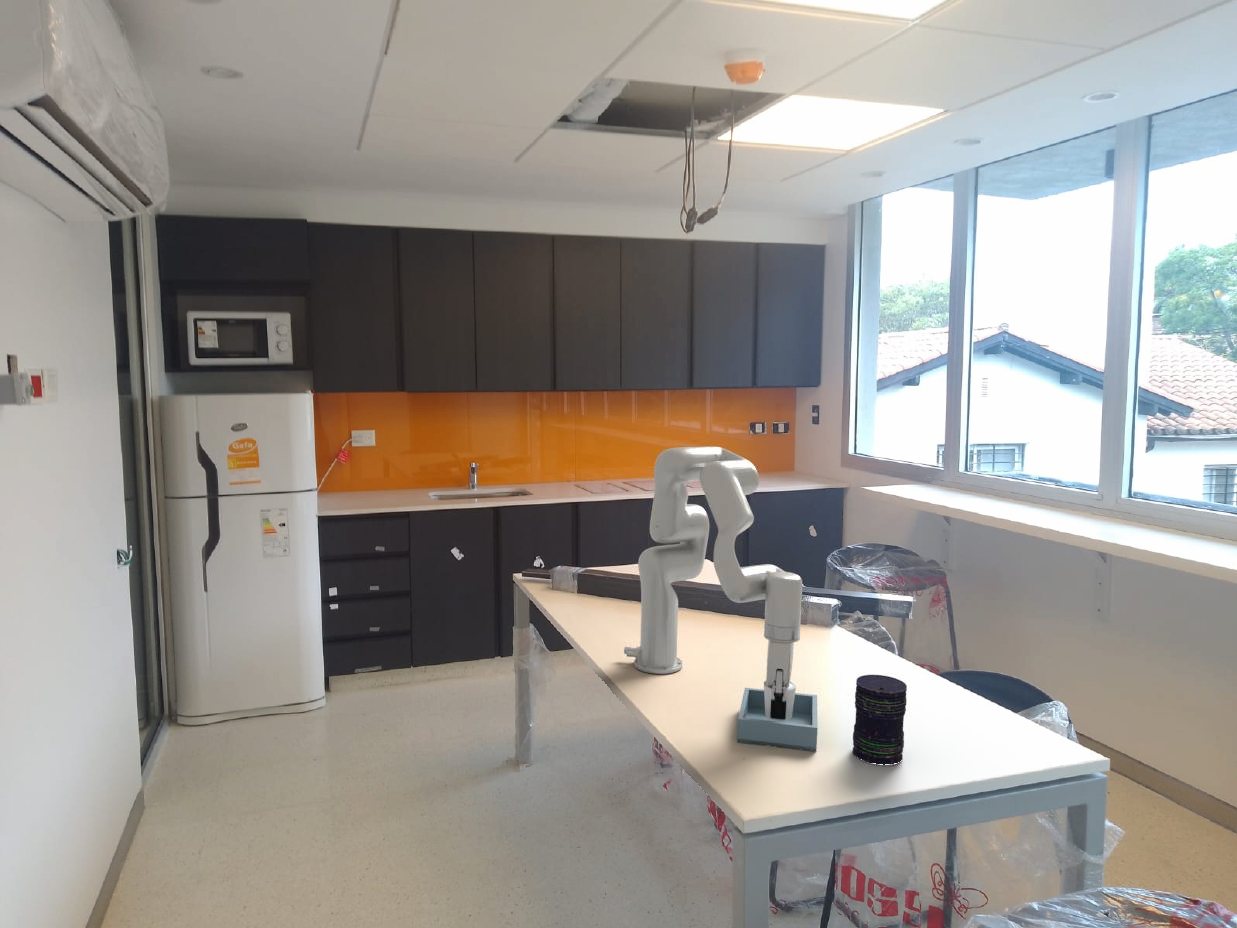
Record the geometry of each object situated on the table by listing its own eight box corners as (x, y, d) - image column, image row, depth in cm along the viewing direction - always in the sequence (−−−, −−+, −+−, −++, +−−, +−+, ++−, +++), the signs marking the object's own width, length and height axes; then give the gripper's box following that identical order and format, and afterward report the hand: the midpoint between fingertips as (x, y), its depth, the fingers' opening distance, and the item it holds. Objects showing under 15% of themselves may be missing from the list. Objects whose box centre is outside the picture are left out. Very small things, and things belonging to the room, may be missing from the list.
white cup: (796, 712, 181) (798, 680, 180) (792, 723, 174) (793, 691, 173) (765, 707, 183) (766, 676, 182) (759, 718, 176) (761, 686, 176)
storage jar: (852, 740, 174) (856, 671, 172) (902, 747, 171) (906, 677, 169) (851, 761, 164) (855, 688, 163) (904, 769, 161) (908, 695, 160)
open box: (737, 742, 172) (737, 718, 171) (744, 708, 189) (744, 687, 189) (816, 751, 168) (817, 727, 168) (816, 716, 186) (817, 695, 185)
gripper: (766, 617, 186) (763, 695, 188) (761, 641, 169) (758, 726, 171) (800, 620, 184) (797, 699, 186) (799, 644, 167) (795, 731, 169)
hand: (778, 711), depth 179 cm, fingers closed on white cup, 5 cm apart
